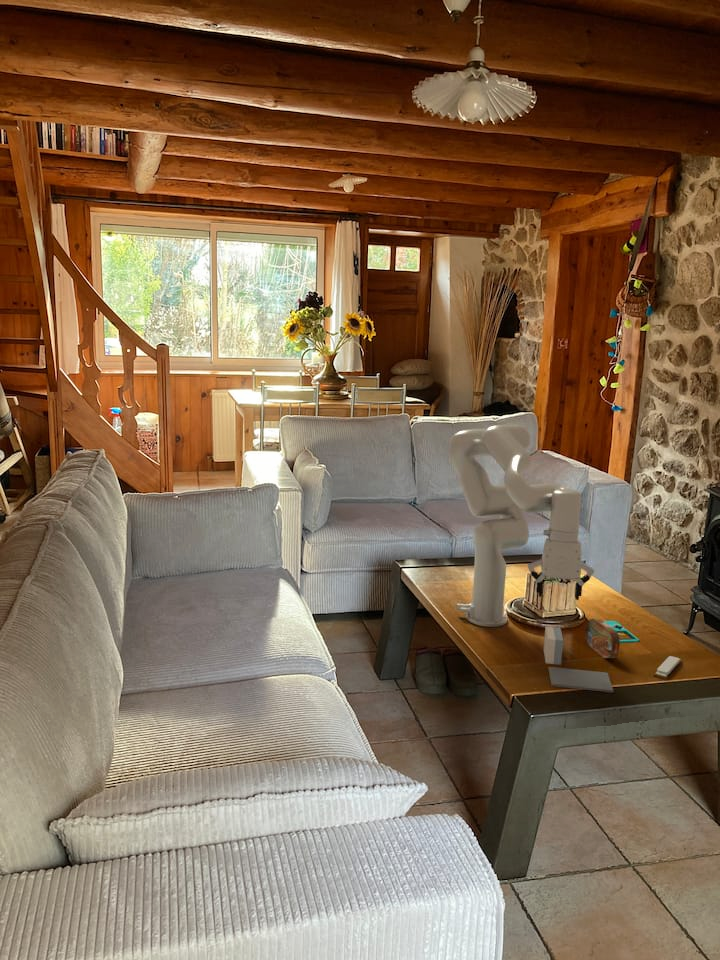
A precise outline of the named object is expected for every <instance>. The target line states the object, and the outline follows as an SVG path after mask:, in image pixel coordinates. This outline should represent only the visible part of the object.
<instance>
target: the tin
mask: <svg viewBox="0 0 720 960" xmlns="http://www.w3.org/2000/svg"><path fill="white" fill-rule="evenodd" d="M604 621H605V620H602V619H600V618H591V619H589V620H588V622H587V624H586V628H585V639H586V643H587V644H588V646H589V647H590V648H591V649H592V650H593V651H595V652H596V653H597V654H598V655H599V656H600V657H601V658H603V659H614V658H617V656H618V654H619V650H620V644H621V642H620V639H621V638H620V637H619V636H620V635H619V634H618V633H617V632H616V630H615V629H613V628H612V627H611V626H609V625H608V624H607V623H605V622H604Z"/></svg>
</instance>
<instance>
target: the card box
mask: <svg viewBox="0 0 720 960" xmlns="http://www.w3.org/2000/svg"><path fill="white" fill-rule="evenodd" d="M563 646H564V638H563V634H562V629H561V627H555V626H545V630H544V640H543V654H544V655H543V656H544V660H545V664H550V665H551V664H552V665H557V666H559V665H560V666H561V665H562V657H563V656H562V655H563V648H564V647H563Z"/></svg>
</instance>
